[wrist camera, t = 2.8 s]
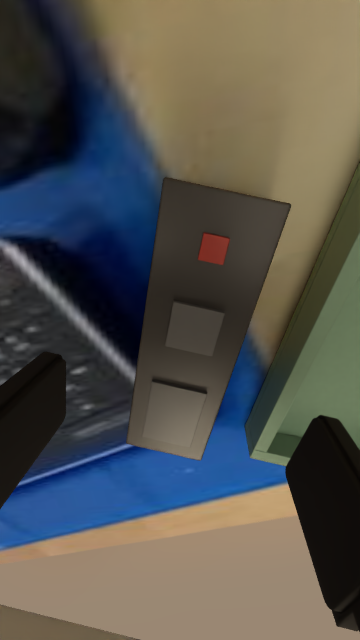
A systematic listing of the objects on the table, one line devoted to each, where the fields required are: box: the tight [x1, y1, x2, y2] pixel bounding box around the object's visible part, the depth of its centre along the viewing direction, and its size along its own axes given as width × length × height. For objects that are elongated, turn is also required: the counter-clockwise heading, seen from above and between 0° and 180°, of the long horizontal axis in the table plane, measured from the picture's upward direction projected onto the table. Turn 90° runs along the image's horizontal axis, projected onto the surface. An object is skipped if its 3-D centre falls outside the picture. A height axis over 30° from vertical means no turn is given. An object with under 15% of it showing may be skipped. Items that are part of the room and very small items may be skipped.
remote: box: [126, 177, 291, 460], centre depth 13 cm, size 14×5×4 cm, turn 169°
